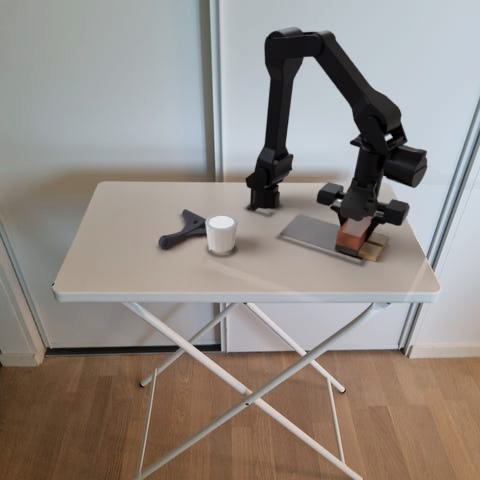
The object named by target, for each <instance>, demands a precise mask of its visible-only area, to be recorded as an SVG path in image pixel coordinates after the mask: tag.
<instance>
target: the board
mask: <svg viewBox="0 0 480 480" xmlns="http://www.w3.org/2000/svg"><path fill="white" fill-rule="evenodd" d="M340 228H341V227H340V225H338V224H335V223H332V222H328V221H324V220H321V219H318V218H315V217H312V216H308V215H304V214H301V213H299V214H297V216H296V217H295V218H294V219H293V220H292V221H291V222H289V224H288V225H287V226H286V227H285V228H284V229H283V230H282V231H281V232H280V233H279V235H281V236H284V237H287V238H291V239H293V240H297V241H300V242H303V243H306V244H310V245H313V246H315V247H319V248H321V249H325V250H328V251H331V252H334V253H337V254H341V255H343V256H347V257H349V258H352V259H356V260H360V261H363V260H364V258H362V257H359V256H354V255H351V254H347V253H344V252H341V251H338V250H335V245H336V239H337V234H338V231H339V229H340ZM357 255H358V254H357Z"/></svg>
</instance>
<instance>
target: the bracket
mask: <svg viewBox="0 0 480 480" xmlns="http://www.w3.org/2000/svg"><path fill="white" fill-rule="evenodd" d="M181 213H182V217H183V219H184V221H185V225H184V227H183V228H182V229H181V230H180V231H177V232H174V233H170V234H165V235H161V236H160V238H159V239H158V242H157V245H158V246H159V247H160V248H162V249H164V250H165V249H169V248H170V247H172V246H174V245H176V244H178V243H179V242H182V241H183V240H185V239H187V238H189V237H191V236H194V235H207V231H206V224H205V221H206V219H207V218H204V217H202V216H201V215H198V214H196V213H195V212H192V211H190V210H189V209H186V208H185V209H183V210H182V212H181Z"/></svg>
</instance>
